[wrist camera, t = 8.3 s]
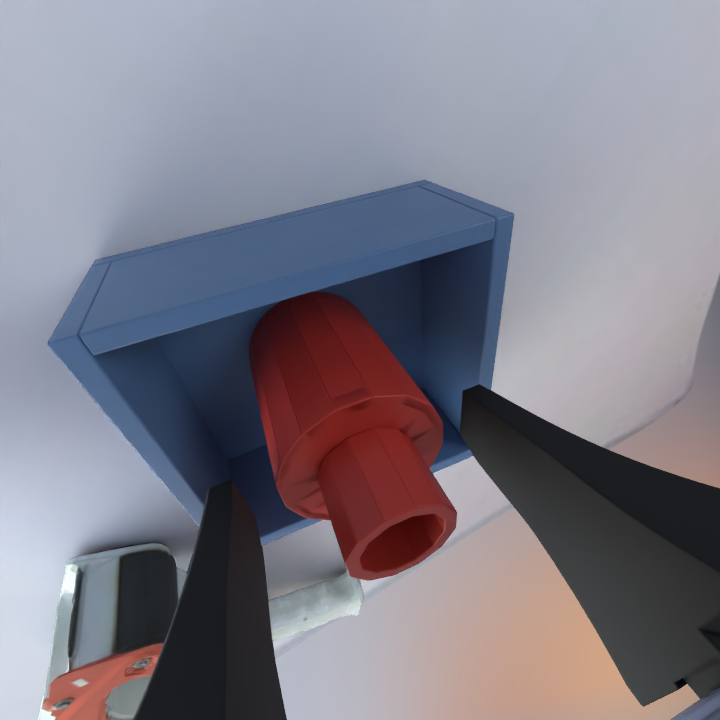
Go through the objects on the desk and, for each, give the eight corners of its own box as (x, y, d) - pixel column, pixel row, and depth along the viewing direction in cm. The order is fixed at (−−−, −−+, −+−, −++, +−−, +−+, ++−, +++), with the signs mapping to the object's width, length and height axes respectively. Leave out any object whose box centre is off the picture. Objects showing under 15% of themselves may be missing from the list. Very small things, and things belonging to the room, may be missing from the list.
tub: (219, 461, 18) (226, 560, 14) (94, 259, 12) (45, 343, 8) (428, 384, 21) (483, 452, 17) (425, 179, 14) (515, 212, 10)
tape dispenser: (359, 554, 32) (214, 460, 18) (387, 618, 29) (232, 562, 14) (189, 672, 31) (-101, 668, 17) (195, 754, 28) (-169, 834, 14)
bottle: (269, 408, 17) (323, 627, 10) (229, 313, 13) (269, 539, 7) (372, 372, 18) (486, 548, 11) (358, 275, 14) (507, 439, 8)
